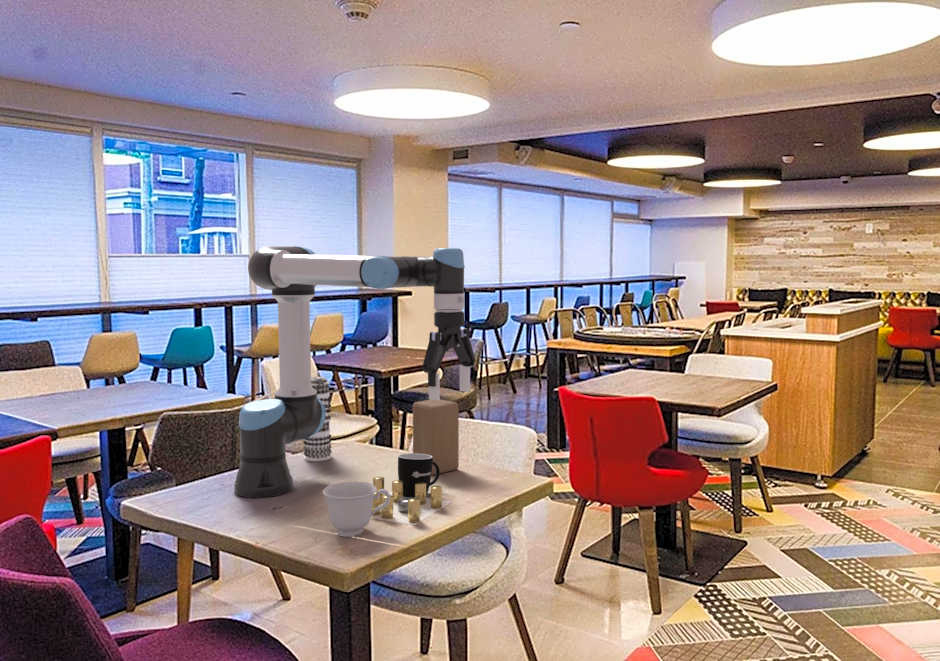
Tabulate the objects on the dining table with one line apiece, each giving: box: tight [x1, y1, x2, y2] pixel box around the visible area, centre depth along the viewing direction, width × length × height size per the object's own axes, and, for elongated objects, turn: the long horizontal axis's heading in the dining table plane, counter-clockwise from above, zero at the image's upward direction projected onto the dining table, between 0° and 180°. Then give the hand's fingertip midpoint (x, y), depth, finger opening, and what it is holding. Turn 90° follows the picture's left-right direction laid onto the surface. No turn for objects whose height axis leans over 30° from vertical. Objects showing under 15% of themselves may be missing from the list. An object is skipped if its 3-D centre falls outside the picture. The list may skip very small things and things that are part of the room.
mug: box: [397, 452, 441, 498], centre depth 198 cm, size 12×9×10 cm
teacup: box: [322, 481, 390, 538], centre depth 171 cm, size 12×15×10 cm
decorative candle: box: [302, 376, 333, 462], centre depth 235 cm, size 9×9×25 cm
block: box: [412, 398, 460, 476], centre depth 221 cm, size 10×10×20 cm
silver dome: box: [398, 497, 414, 514], centre depth 185 cm, size 5×5×2 cm
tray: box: [371, 491, 453, 526], centre depth 188 cm, size 23×19×1 cm
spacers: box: [372, 476, 443, 524], centre depth 186 cm, size 20×15×5 cm
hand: (450, 395), depth 190 cm, fingers open, 13 cm apart
